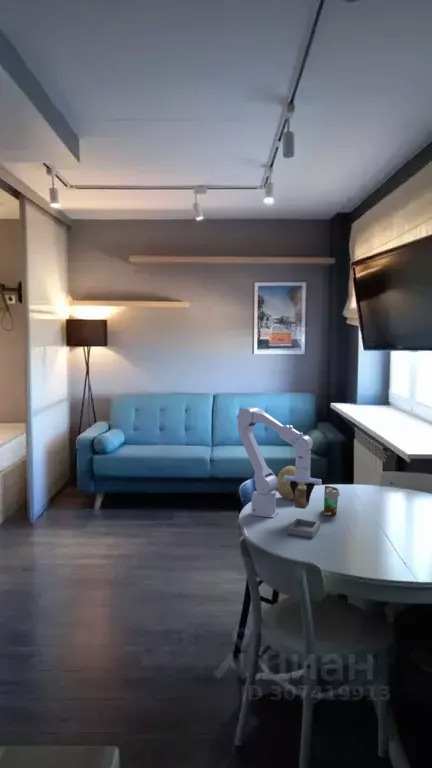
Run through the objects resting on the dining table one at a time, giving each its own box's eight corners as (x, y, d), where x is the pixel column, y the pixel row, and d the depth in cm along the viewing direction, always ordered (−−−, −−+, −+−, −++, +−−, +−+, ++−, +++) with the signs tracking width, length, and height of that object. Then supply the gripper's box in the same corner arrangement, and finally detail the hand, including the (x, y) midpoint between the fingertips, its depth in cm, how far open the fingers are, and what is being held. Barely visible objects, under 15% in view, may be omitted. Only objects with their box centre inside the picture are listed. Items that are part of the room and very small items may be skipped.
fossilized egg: (309, 499, 254) (310, 465, 253) (294, 505, 244) (295, 470, 243) (285, 493, 262) (286, 461, 261) (269, 499, 253) (270, 466, 251)
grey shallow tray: (288, 534, 208) (288, 528, 207) (296, 524, 219) (296, 518, 218) (312, 538, 204) (312, 531, 204) (319, 528, 215) (320, 521, 215)
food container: (339, 518, 227) (340, 493, 226) (323, 517, 228) (324, 492, 227) (339, 509, 239) (339, 486, 238) (324, 508, 240) (324, 485, 239)
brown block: (294, 507, 221) (295, 489, 220) (299, 502, 227) (299, 485, 227) (304, 508, 219) (305, 491, 219) (308, 504, 226) (309, 486, 225)
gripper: (281, 467, 221) (281, 501, 222) (319, 471, 216) (318, 506, 217) (286, 463, 228) (286, 497, 229) (323, 467, 222) (322, 501, 223)
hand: (301, 501), depth 223 cm, fingers closed on brown block, 4 cm apart
